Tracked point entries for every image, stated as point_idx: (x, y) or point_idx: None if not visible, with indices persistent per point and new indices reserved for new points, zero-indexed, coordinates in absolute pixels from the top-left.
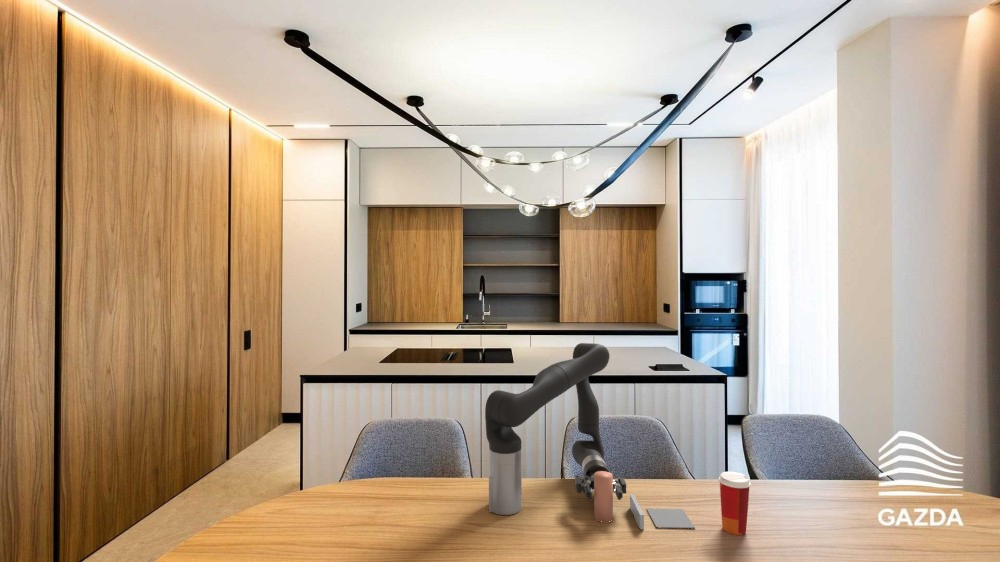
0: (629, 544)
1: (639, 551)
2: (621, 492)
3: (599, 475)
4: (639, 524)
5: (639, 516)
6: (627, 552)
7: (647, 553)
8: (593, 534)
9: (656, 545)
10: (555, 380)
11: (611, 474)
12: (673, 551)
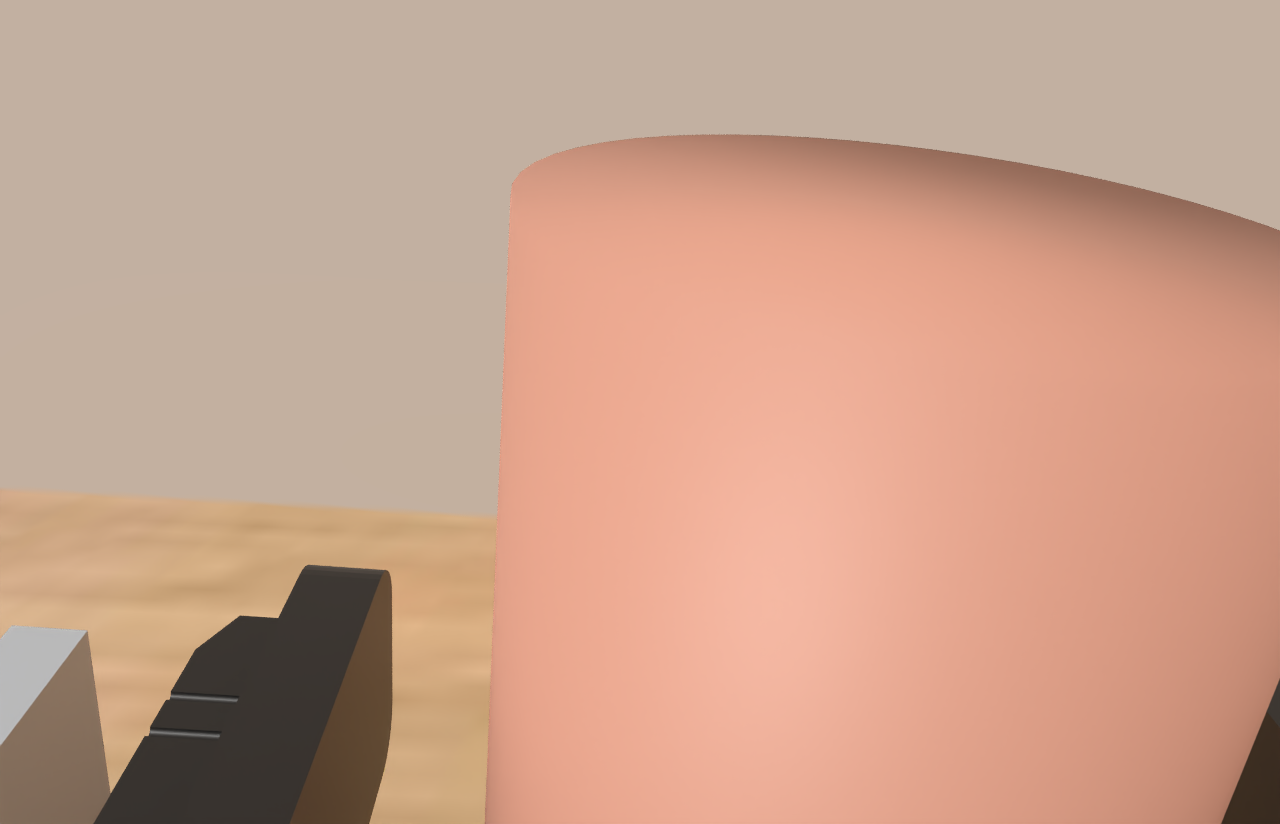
0: (462, 609)
1: (405, 529)
2: (247, 639)
3: (1092, 213)
4: (92, 822)
5: (71, 705)
6: None
7: (339, 507)
8: None
9: (149, 580)
10: None
11: (555, 204)
12: (41, 509)
